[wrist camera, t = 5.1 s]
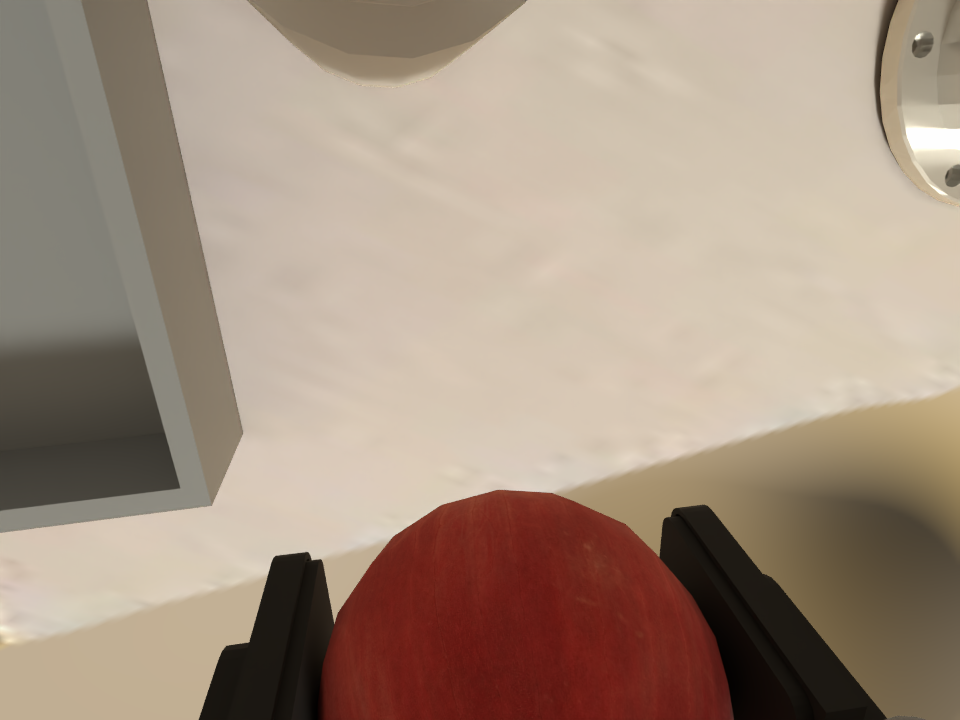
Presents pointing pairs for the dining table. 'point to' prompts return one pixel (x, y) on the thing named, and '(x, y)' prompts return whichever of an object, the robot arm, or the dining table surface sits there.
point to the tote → (100, 279)
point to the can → (384, 34)
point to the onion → (521, 623)
